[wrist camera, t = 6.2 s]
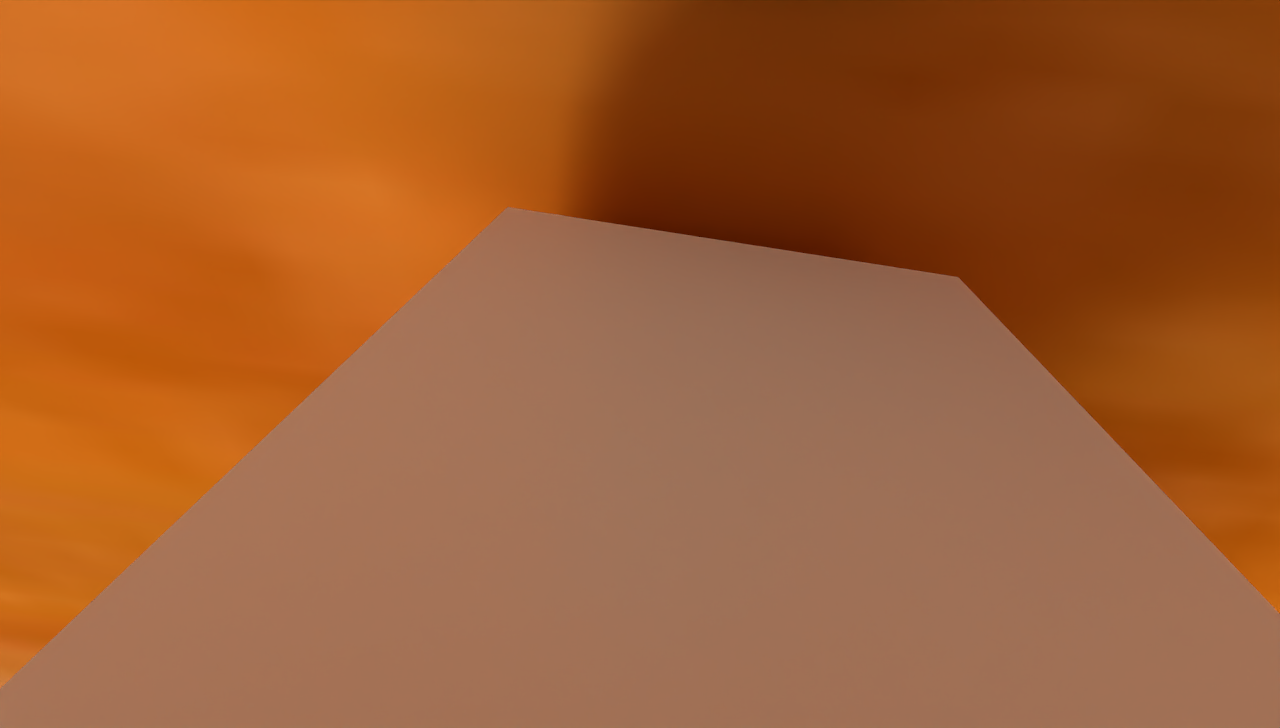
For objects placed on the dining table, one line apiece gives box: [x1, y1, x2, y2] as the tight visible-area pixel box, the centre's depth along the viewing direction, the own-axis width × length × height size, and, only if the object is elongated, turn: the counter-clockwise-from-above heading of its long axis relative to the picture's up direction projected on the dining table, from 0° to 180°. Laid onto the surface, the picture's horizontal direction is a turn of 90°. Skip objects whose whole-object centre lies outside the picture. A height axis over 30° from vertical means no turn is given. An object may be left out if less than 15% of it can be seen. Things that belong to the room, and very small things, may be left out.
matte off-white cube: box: [0, 207, 1280, 728], centre depth 7 cm, size 8×8×9 cm
